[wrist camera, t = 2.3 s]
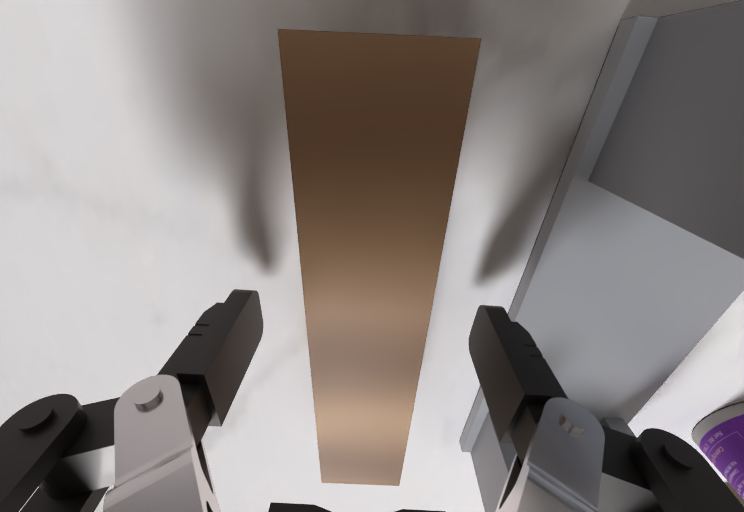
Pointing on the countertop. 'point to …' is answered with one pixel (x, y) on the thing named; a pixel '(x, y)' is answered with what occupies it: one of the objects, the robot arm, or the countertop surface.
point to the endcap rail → (637, 225)
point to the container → (724, 443)
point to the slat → (371, 225)
